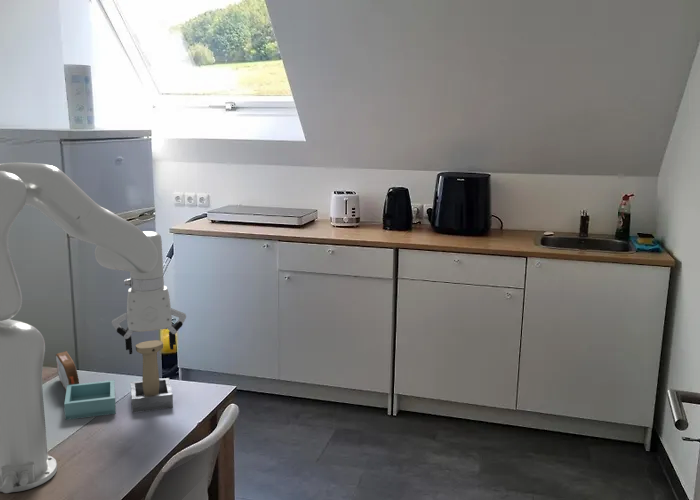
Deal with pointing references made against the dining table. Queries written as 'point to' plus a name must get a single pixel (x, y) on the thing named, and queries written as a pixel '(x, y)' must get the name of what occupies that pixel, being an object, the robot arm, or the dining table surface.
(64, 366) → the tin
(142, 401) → the collar
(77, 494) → the dining table surface
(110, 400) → the tray
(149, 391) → the handle
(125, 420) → the dining table surface
